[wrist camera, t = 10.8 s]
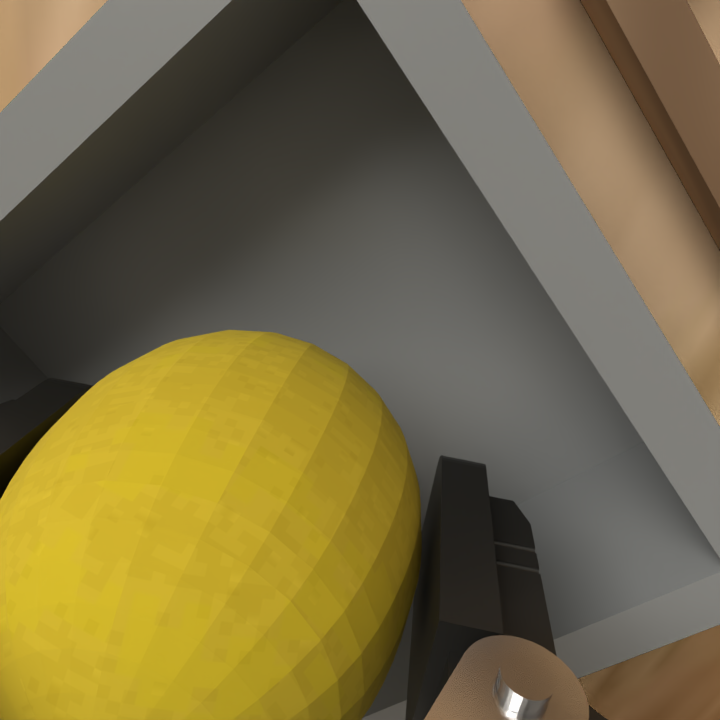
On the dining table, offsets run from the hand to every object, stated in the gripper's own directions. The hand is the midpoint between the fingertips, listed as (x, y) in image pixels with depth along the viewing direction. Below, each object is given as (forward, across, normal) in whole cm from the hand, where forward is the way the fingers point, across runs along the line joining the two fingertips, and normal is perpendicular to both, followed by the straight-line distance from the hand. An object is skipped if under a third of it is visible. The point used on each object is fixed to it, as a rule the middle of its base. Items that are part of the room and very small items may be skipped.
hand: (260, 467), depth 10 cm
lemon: (+3, 0, 0) cm, 3 cm away
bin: (+5, 0, 0) cm, 5 cm away
